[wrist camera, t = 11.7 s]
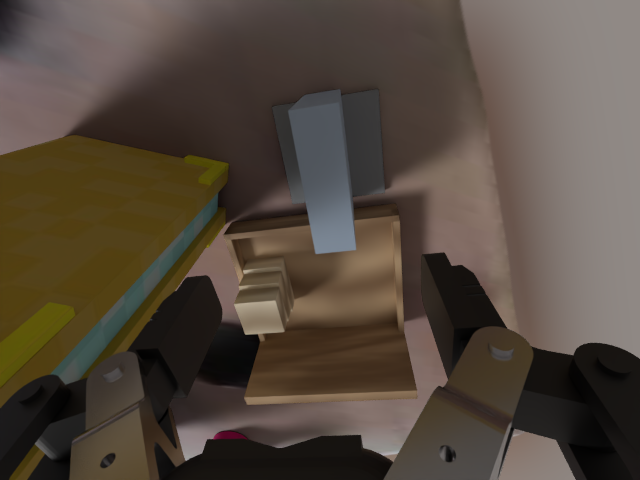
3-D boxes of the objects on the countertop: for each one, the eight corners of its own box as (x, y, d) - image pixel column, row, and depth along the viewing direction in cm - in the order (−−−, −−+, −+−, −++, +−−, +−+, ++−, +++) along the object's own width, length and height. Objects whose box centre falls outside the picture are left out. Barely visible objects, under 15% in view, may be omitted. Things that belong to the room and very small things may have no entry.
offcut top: (239, 290, 31) (233, 303, 30) (279, 286, 31) (275, 300, 29) (250, 320, 33) (245, 334, 32) (287, 317, 33) (284, 332, 31)
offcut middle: (244, 274, 33) (238, 286, 31) (281, 270, 32) (278, 282, 31) (256, 310, 35) (251, 323, 34) (291, 308, 35) (288, 321, 33)
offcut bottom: (247, 259, 34) (242, 270, 33) (283, 255, 34) (280, 266, 32) (261, 302, 37) (257, 314, 36) (294, 299, 37) (292, 311, 35)
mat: (273, 106, 28) (271, 107, 27) (377, 88, 26) (378, 89, 26) (293, 201, 32) (292, 204, 31) (384, 190, 31) (384, 192, 30)
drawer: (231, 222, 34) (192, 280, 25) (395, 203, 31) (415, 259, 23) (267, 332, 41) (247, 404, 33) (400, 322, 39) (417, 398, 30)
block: (304, 94, 26) (288, 110, 19) (340, 88, 26) (339, 102, 18) (322, 204, 31) (315, 254, 23) (353, 201, 31) (356, 250, 23)
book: (228, 163, 30) (-54, 425, 9) (225, 224, 34) (14, 522, 12) (48, 124, 30) (-746, 305, 8) (63, 190, 33) (-469, 444, 11)
